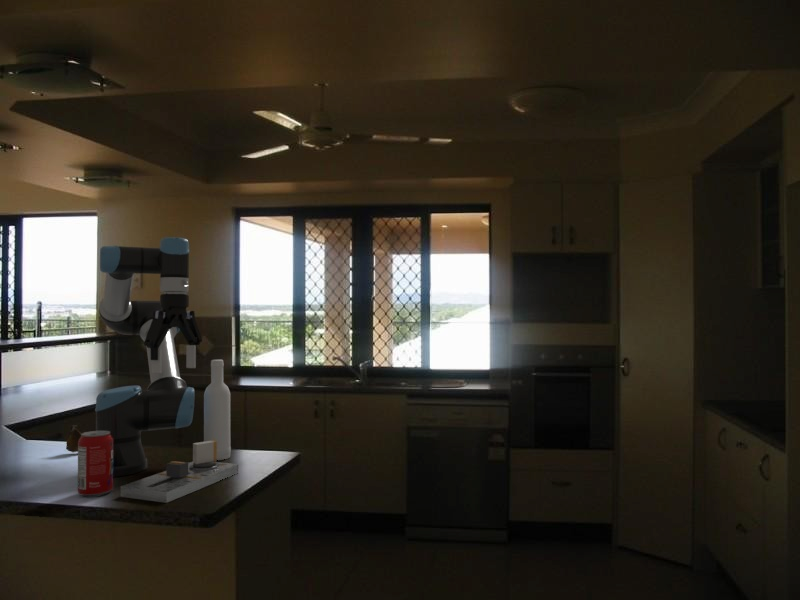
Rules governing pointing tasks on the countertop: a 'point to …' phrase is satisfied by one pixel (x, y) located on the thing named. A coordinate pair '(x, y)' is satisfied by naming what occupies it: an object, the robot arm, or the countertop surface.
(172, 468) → the fader
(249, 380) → the countertop surface
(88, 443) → the soda can
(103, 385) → the countertop surface
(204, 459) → the dial
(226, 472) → the console
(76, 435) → the amber spray bottle
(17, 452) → the countertop surface
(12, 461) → the countertop surface
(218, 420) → the bottle
